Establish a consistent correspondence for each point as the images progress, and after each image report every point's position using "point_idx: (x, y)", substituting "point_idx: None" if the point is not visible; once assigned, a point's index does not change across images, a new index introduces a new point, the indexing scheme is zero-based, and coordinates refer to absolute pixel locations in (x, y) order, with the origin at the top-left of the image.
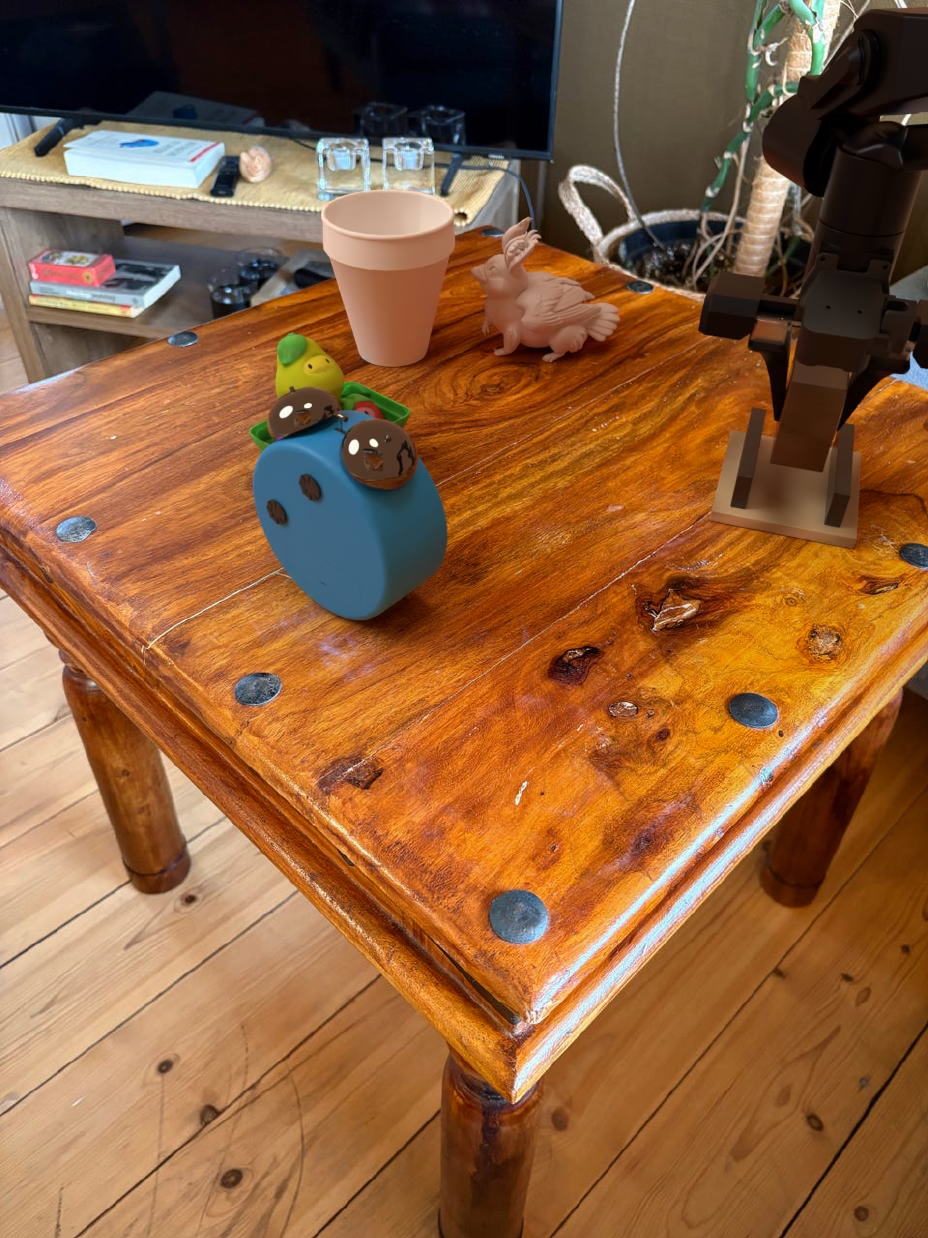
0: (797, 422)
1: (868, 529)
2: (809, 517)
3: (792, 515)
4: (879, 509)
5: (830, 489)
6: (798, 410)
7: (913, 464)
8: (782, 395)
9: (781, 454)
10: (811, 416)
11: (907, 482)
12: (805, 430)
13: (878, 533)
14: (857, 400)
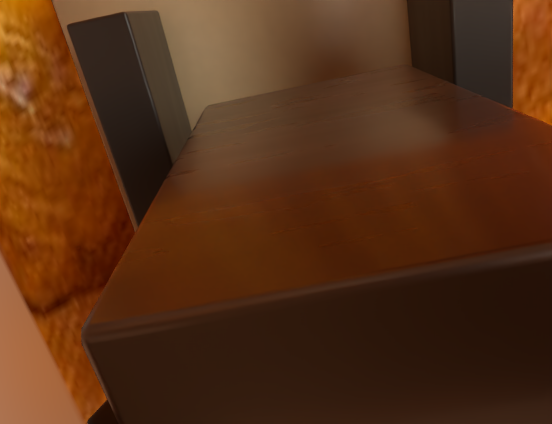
0: (396, 119)
1: (68, 115)
2: (210, 28)
3: (258, 8)
4: (82, 218)
5: (183, 141)
6: (438, 140)
7: (90, 415)
8: None
9: (382, 79)
10: (332, 153)
11: (73, 350)
12: (330, 121)
13: (39, 111)
14: (113, 414)
